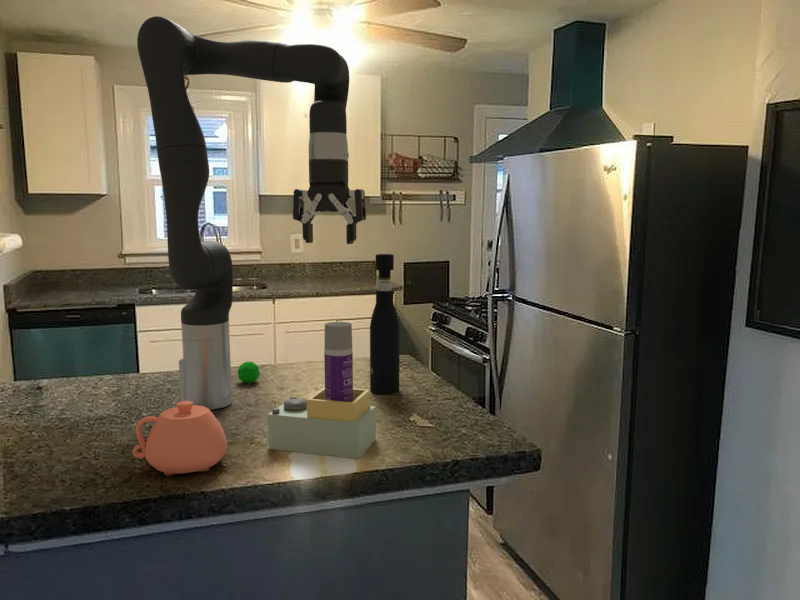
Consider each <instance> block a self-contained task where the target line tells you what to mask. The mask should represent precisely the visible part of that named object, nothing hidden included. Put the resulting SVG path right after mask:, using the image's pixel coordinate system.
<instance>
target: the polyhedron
mask: <svg viewBox="0 0 800 600" xmlns="http://www.w3.org/2000/svg"><path fill="white" fill-rule="evenodd" d="M260 373H261V372H260V369H259V365H258V364H256V363H255V362H253V361H244V362H243V363H242V364H240V365H239V366H238V369H237V375H238V379H239V380H240V382H242V383H244V384H252V383H254V382H256V381H257V380H258V379H259V377H260Z"/></svg>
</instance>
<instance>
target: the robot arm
mask: <svg viewBox="0 0 800 600" xmlns="http://www.w3.org/2000/svg"><path fill="white" fill-rule="evenodd" d="M136 41H137V42H136V44H137V52H138V56H139V60H140V64H141V68H142V72H143V76H144V80H145V84H146V87H147V92H148V97H149V98H148V99H149V102H150V110H151V117H152V124H153V130H154V137H155V145H156V146H155V147H156V155H157V161H158V167H159V168H158V169H159V174H160V177H161V185H162V191H163V193H162V194H163V201H164V208H165V217H166V234H167V235H166V236H167V240H166V241H167V255H168V256H167V258H168V259H167V260H168V266H169V271H170V274H171V278H172V279H173V281H174V283H175V284H176V285H177V286H178V287H179V288H181V289H183V290H185V291H192V290H195V293H194V296H193V298H192V299H191V300H190V301H189V302H188V303H187V304H186V305H185V306H183V307H182V309H181V311H180V323H181V325H180V326H181V340H182V341H181V342H182V343H181V344H182V358H180V359H179V361H178V373H179V377H178V378H179V392H180V393H179V394H180V402H181V401H191V402H193V405H198V406H204V407H206V408H208V409H209V410H210V411H211V410H217V409H218V410H219V409H222V408H225V407H228V406H229V405H231V404H232V403H233V401H232V400H233V399H232V398H233V397H232V396H233V395H232V394H233V392H232V367H231V366H232V365H231V364H232V363H231V341H230V340H231V339H230V338H231V337H230V317H229V316H230V311H231V309H232V304H233V291H234V290H233V288H234V287H233V284H234V283H233V282H234V281H233V279H234V274H233V272H234V269H233V268H234V267H233V261H232V256H231V254H230V251H229V249H228V248H227V247H226V245H224V244H223V243H222V242H220V241H217V240H216V241H215V240H203V241H201V235H200V228H199V211H200V208H201V207H200V206H201V203H202V200H203V198H204V195H205V192H206V189H207V186H208V182H209V180H210V178H209V177H210V165H209V164H210V163H209V157H208V150H207V144H206V139H205V136H204V133H203V129H202V127H201V124H200V123H199V120H198V118H197V115H196V113H195V111H194V109H193V106H192V104H191V102H190V99H189V95H188V93H187V89H186V83H185V76H195V75H196V76H197V75H221V76H222V75H224V76H233V77H241V78H248V79H254V80H261V81H269V82H274V83H275V82H276V83H285V84H286V83H287V84H288V83H290V84H291V83H292V82H297V83H299V82H300V83H308V84H313V85H314V95H313V103H312V104H311V105H310V108H309V112H308V113H309V116H308V117H309V118H308V119H309V120H308V121H309V139H308V183H309V187H308V189H307V190H305V189H301V188H299V189H298V188H295V189H294V190H293V201H292V204H293V205H292V218H293V220H294V221H298V222H299V223H301V224H302V238H303V240H304V241H305V243H306V244H312V243H313V242H314V228H313V227H314V226H313V223H312V222H313V220H314V219H315V217H316V216H317V215H318V214H320V213H322V212H324V213H326V212H330V213H331V212H332V213H335V212H338V213H339V214H340V215H342V217H343V218H344V220H345V222H347V224H345V225H346V231H345V232H346V244H347V245H353V244H354V243H355V242H356V240H357V224H358V223H360V222H362V221H365V220H366V219H367V211H366V195H365V194H366V193H365V192H366V191H365V190H364V189H363V188H362V189H361V188H356V189H350V188H349V157H350V155H349V144H348V137H347V130H348V129H347V105H348V104H347V103H348V99H349V89H350V68H349V65H348V62H347V61H346V59H345V58H344V56H342V55H341V54H340V53H339V52H338V51H337V50H336V49H334V48H332V47H331V46H327V45H324V44H316V43H314V44H313V43H303V44H302V43H301V44H300V43H299V44H288V43H282V42H276V41H267V40H257V39H255V40H253V39H249V40H247V39H246V40H237V41H220V40H212V39H209V38H204V37H201V36H198V35H195V34H193V33H191V32H189V31H188V30H186V29H185V28H184V27H182V26H181V25H179V24H178V23H176V22H174V21H172V20H171V19H169V18H167V17H163V16H159V15H158V16H151V17H148V18H147V19H146V20H144V22H142V24H141V26H140V27H139V30H138V33H137V39H136ZM307 198H308V199H309V200H310V201H311V203H310V205H309V206H308V208H307V209H306V212H305V201H306V200H307ZM350 198H351V199H352V200H353V201H354V204H355V214H354V213H353V210H352V208H351V207H350V205H348V203H347V202H348V200H349V199H350ZM304 213H305V214H304Z"/></svg>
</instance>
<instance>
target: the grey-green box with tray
mask: <svg viewBox="0 0 800 600" xmlns="http://www.w3.org/2000/svg"><path fill="white" fill-rule="evenodd" d="M376 408H377V407H376V406H375V405H371V391H370V389H365V388H354V387H353V402H342V401H331V400H325V386H324V387H322V388H321V389H319V390H318V391H317V392H315V393H314V394H312V395H311V396H309V398H307V399H304V398H298V397H297V396H290V397H289V399H287V400H284V401H283V404H281V405H279V406H278V407H276V408H272V410H271V411H270V412H269V413H267V431H268V432H267V436H268V449H269V450H277V451H285V452H286V451H288V452H293V453H294V452H296V453H305V454H312V455H313V454H314V455H323V456H333V457H341V458H350V459H360V458H362V456H363V455H364V454H365V453H366V451H367V450H368V449H369V448H370V447H371V446H372V444H373V443H374V442H375V441H376V438H377V437H376V436H377V434H376V433H377V430H376V428H377V427H376V424H377V423H376V422H377V421H376V418H377V417H376V415H377V413H376V412H377V411H376Z"/></svg>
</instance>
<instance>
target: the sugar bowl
mask: <svg viewBox="0 0 800 600" xmlns="http://www.w3.org/2000/svg"><path fill="white" fill-rule="evenodd" d="M149 422H151V423H153V422H154V423H153V425H152V428H151V429H150V431H149V433H148V435H147V439H146V441H145V439H144V436H143V432H142V427H143V425H144V424H145V423H149ZM135 433H136V437H137V440H138V442H139V444H138V445H135V446H134V447H133V449H132V454H133V456H134V457H135V458H136V459H143V458H144V459H146V461H147V462H148V464H149V465H151V466H152V467H153V468H154V469H155V470H157V471H158V472H162V473H163V474H164V475H165V476H174V475H175V474H176V475H177V474H189V473H196V472H199V473H200V472H207V471H210V469H211V467H213V466H215V465H216V464H217V463H219V461H220V460H221V459H222V458H223V457H224V456H225V454H226V451H227V449H228V441H227V436H226V433H225V431H224V428H223V426H222V425H221V423H220V421H219V420H218V419H217V417H216V416H215V415H214V414H213V412H212V411H211V410H209V409H208V408H206V407H204V406H198V405H193V402H191V401H181V400H180V401H179V402H177V403H176V406H175V407H174V406H173V407H170V408H168V409H165V410H163V411H162V412H161V413H160V414H159V416H158V417H157V416H154V415H148V416H145V417H143V418H141V419H139V421H137V422H136V426H135ZM139 449H141V452H139V451H138V450H139Z"/></svg>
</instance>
